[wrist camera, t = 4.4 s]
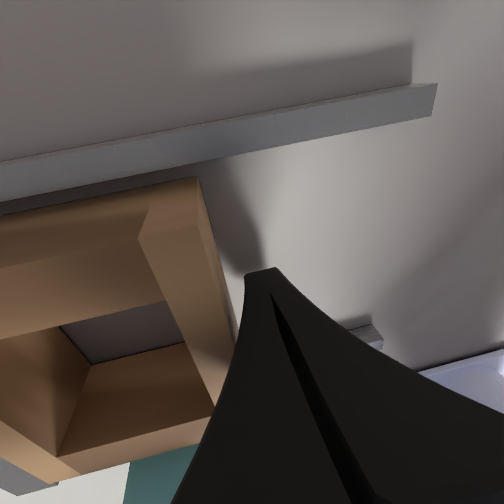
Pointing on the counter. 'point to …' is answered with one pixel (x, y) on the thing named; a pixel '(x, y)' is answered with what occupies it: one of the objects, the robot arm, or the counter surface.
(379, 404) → the robot arm
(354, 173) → the counter surface
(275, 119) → the backstop
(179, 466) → the aqua rectangular prism
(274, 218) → the counter surface
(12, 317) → the brown rectangular frame
